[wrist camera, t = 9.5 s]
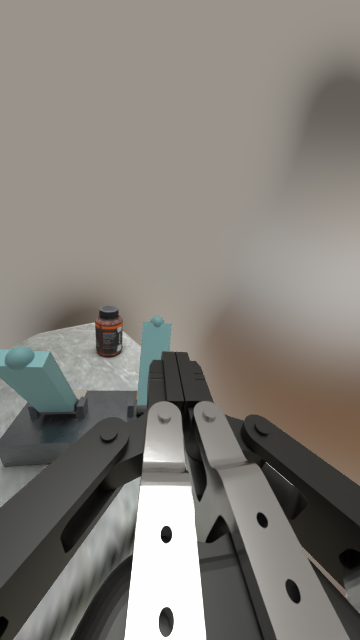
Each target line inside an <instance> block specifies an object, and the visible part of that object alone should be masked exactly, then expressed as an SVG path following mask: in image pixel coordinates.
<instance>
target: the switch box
mask: <svg viewBox="0 0 360 640" xmlns="http://www.w3.org/2000/svg"><path fill="white" fill-rule="evenodd" d="M73 392H74V394H75V396H76V397H77V399H78V400H79V402H78V404H77V411H76V413H75V414H40V413H39V412H38V411H37V410H36V409H35V408H34V407H33V406H32V405H31V404H30V403H27V404H26V405H25V407H24V408H23V409H22V411H21V412H20V413H19V415H18V416H17V417H16V419H15V420H14V421H13V423H12V424H11V425H10V427H9V428H8V429H7V431H6V432H5V433H4V435H3V436H2V437H1V439H0V458H1V461H2V463H3V465H4V467H6V466H22V465H38V464H51V463H52V462H53V461H54V460H56V459H57V458H58V457H59V456H60V455H61V454H62V453H64V452H65V451H66V450H67V449H68V448H69V447H70V446H72V445H73V444H74V443H75V442H76V441H77V440H78V439H80V438H81V437H82V436H83V435H84V434H85V433H86V432H88V431H89V430H90V429H91V428H92V427H93V426H94V425H96V424H97V423H98V422H99V421H101V420H103V419H105V418H109V417H117V418H121V419H123V420H124V421H125V422H129V421H132V420H134V419H137V418H139V417H140V416H142V415H143V414H144V413H136V408H137V396H138V391H87V390H73ZM183 443H184V444H185V440H184V435H183Z"/></svg>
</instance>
